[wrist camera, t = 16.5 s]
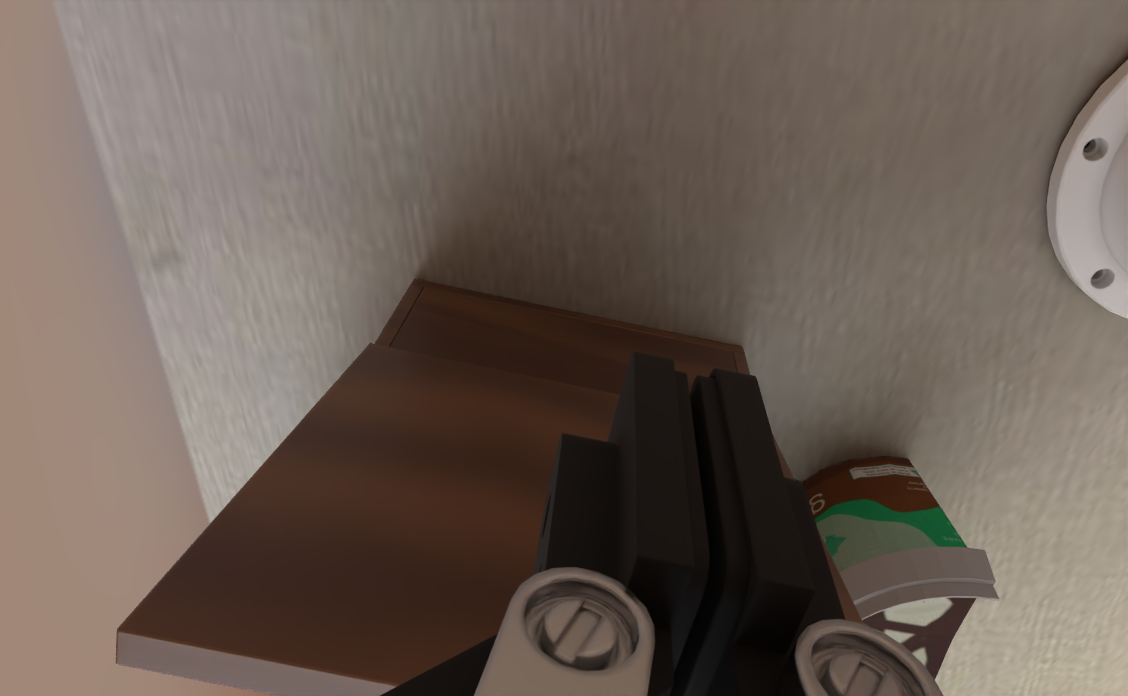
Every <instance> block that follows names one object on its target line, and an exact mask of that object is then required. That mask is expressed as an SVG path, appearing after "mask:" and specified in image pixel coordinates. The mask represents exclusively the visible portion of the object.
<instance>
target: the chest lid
mask: <svg viewBox="0 0 1128 696" xmlns="http://www.w3.org/2000/svg"><path fill="white" fill-rule="evenodd" d="M619 397H620V395H619V394H614V393H609V392H604V391H599V390H594V389H590V388H585V387H580V386H575V385H570V384H565V383H561V382H556V381H551V380H546V379H541V378H536V377H532V376H527V375H522V374H517V373H512V372H507V371H503V370H498V369H493V368H488V367H483V366H478V365H474V364H469V363H464V362H459V361H454V360H449V359H445V358H440V357H435V356H430V355H425V354H420V353H415V352H411V351H406V350H401V349H396V348H391V347H386V346H382V345H377V344H372V343H370V344H369V345H368V346H367V347H366V348H365V349H364V351H363V352H362V353H361V354H360V355H359V356H358V357H357V359H356V360H355V361H354V362H353V363H352V364H351V365H350V366H349V368H348V369H347V370H346V371H345V372H344V373H343V374H342V375H341V377H340V378H339V379H338V380H337V381H336V382H335V383H334V384H333V386H332V387H331V388H330V389H329V390H328V391H327V392H326V394H325V395H324V396H323V397H322V398H321V399H320V400H319V401H318V403H317V404H316V405H315V406H314V407H313V408H312V409H311V410H310V412H309V413H308V414H307V415H306V416H305V417H304V418H303V420H302V421H301V422H300V423H299V424H298V425H297V426H296V427H295V429H294V430H293V431H292V432H291V433H290V434H289V435H288V436H287V438H286V439H285V440H284V441H283V442H282V443H281V444H280V446H279V447H278V448H277V449H276V450H275V451H274V452H273V453H272V455H271V456H270V457H269V458H268V459H267V460H266V461H265V462H264V464H263V465H262V466H261V467H260V468H259V469H258V470H257V471H256V473H255V474H254V475H253V476H252V477H251V478H250V479H249V481H248V482H247V483H246V484H245V485H244V486H243V487H242V488H241V490H240V491H239V492H238V493H237V494H236V495H235V496H234V497H233V499H232V500H231V501H230V502H229V503H228V504H227V505H226V507H225V508H224V509H223V510H222V511H221V512H220V513H219V514H218V516H217V517H216V518H215V519H214V520H213V521H212V522H211V523H210V525H209V526H208V527H207V528H206V529H205V530H204V531H203V533H202V534H201V535H200V536H199V537H198V538H197V539H196V541H195V542H194V543H193V544H192V545H191V546H190V548H188V550H187V551H186V552H185V553H184V554H183V555H182V556H181V557H180V558H179V560H178V561H177V562H176V563H175V564H174V565H173V566H172V568H171V569H170V570H169V571H168V572H167V573H166V574H165V575H164V577H163V578H162V579H161V580H160V581H159V582H158V583H157V585H156V586H155V587H154V588H153V589H152V590H151V591H150V592H149V594H148V595H147V596H146V597H145V598H144V599H143V600H142V601H141V603H140V604H139V605H138V606H137V607H136V608H135V609H134V611H133V612H132V613H131V614H130V615H129V616H128V617H127V618H126V620H125V621H124V622H123V623H122V624H121V625H120V626H119V628H118V629H117V642H116V643H117V644H116V664H118V665H123V666H128V667H133V668H138V669H143V670H148V671H154V672H159V673H163V674H169V675H174V676H179V677H184V678H189V679H194V680H199V681H204V682H209V683H215V684H219V685H224V686H230V687H235V688H240V689H245V690H250V691H255V692H261V693H265V694H270V695H275V696H380V695H382V694H384V693H386V692H388V691H389V690H391V689H393V688H395V687H397V686H399V685H401V684H403V683H405V682H407V681H408V680H410V679H412V678H414V677H416V676H418V675H420V674H422V673H424V672H426V671H428V670H429V669H431V668H433V667H435V666H437V665H439V664H441V663H443V662H445V661H447V660H448V659H450V658H452V657H454V656H456V655H458V654H460V653H462V652H464V651H466V650H468V649H469V648H471V647H473V646H475V645H477V644H479V643H481V642H483V641H485V640H487V639H488V638H490V637H492V636H494V635H496V634H498V632H499V630H500V627H501V624H502V622H503V619H504V617H505V614H506V611H507V609H508V606H509V604H510V601H511V599H512V597H513V596H514V594H515V593H516V591H517V589H518V588H519V586H520V585H521V584H522V583H523V582H525V581H526V580H528V579H529V578H530V577H532V576H533V575H534V569H535V562H536V555H537V548H538V541H539V534H540V528H541V523H542V517H543V512H544V507H545V502H546V497H547V492H548V487H549V483H550V478H551V474H552V469H553V465H554V461H555V456H556V452H557V448H558V444H559V440H560V437H561V434H562V433H566V434H571V435H576V436H581V437H586V438H591V439H596V440H601V441H606V442H608V438H609V434H610V431H611V427H612V423H613V419H614V415H615V412H616V408H617V404H618V400H619ZM772 435H773V434H772ZM773 439H774V437H773ZM774 443H775V446H776V450H777V453H778V457H779V461H780V464H781V468H782V471H783V475H784V477H786V478H791V479H794V478H793V476H792V474H791V472H790V470H789V468H788V466H787V463H786V461H785V459H784V457H783V455H782V453H781V451H780V449H779V447H778V445H777V443H776V441H775V439H774ZM818 532H819V530H818ZM819 535H820V538H821V541H822V545H823V548H824V551H825V554H826V558H827V561H828V564H829V567H830V571H831V574H832V577H833V580H834V583H835V587H836V590H837V593H838V596H839V600H840V603H841V606H842V609H843V613H844V616H845V619H846V620H848V621H853V622H858V623H862V624H864V623H863V621H862V619H861V617H860V615H859V613H858V610H857V608H856V606H855V604H854V602H853V600H852V598H851V596H850V594H849V592H848V590H847V588H846V586H845V584H844V581H843V579H842V577H841V575H840V573H839V571H838V569H837V567H836V565H835V563H834V561H833V559H832V557H831V555H830V552H829V550H828V548H827V546H826V544H825V542H824V540H823V538H822V536H821V534H820V532H819Z"/></svg>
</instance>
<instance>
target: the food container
mask: <svg viewBox="0 0 1128 696" xmlns="http://www.w3.org/2000/svg"><path fill="white" fill-rule="evenodd" d="M802 484H803V486H804V488H805V490H806V493H807V496H808V499H809V502H810V506H811V509H812V512H813V515H814V519H815V522H816V525H817V528H818V530H819V532H820V534H821V536H822V538H823V540H824V542H825V544H826V546H827V548H828V550H829V552H830V555H831V557H832V559H833V561H834V563H835V565H836V567H837V569H838V571H839V573H840V575H841V577H842V579H843V581H844V584H845V586H846V588H847V590H848V592H849V594H850V596H851V598H852V600H853V602H854V604H855V606H856V608H857V610H858V613H859V615H860V617H861V619H862V621H863V623H864V624H865V625H867V626H869V627H872V628H874V629H877V630H879V631H881V632H883V633H885V634H887V635H888V636H890V637H891V638H893V639H894V640H896V641H897V642H899V643H900V644H902V645H903V646H905V647H906V648H907V649H908V650H909V651H910V652H911V653H912V654H913V655H914V656H915V657H916V658H917V659H919V660H920V661H921V662H922V664H923V665H924V666H925V668H926V669H927V670H928V672H929V673H930V675H931V676H932V677H933V679H934V680H935V678H936V676H937V674H938V671H939V669H940V667H941V664H942V662H943V659H944V657H945V655H946V652H947V650H948V648H949V646H950V644H951V642H952V639H953V637H954V635H955V634H956V632H957V630H958V629H959V627H960V625H961V623H962V622H963V620H964V618H965V616H966V615H967V613H968V611H969V610H970V608H971V606H972V604H973V603H974V601H975V599H976V598H982V599H989V600H997V601H999V597H998V595H997V593H996V591H995V589H994V587H993V585H994V583H995V578H994V575H993V573H992V570H991V567H990V564H989V561H988V558H987V555H986V552H985V550H980V549H972V548H967V546H966V545H965V543H964V542H963V540H962V539H961V537H960V536H959V534H958V533H957V531H956V530H955V528H954V527H953V525H952V524H951V522H950V521H949V519H948V518H947V516H946V515H945V513H944V512H943V510H942V509H941V507H940V506H939V504H938V503H937V501H936V500H935V498H934V497H933V495H932V494H931V492H930V491H929V489H928V488H927V486H926V485H925V483H924V482H923V480H922V479H921V477H920V476H919V474H918V473H917V471H916V469H915V468H914V466H913V465H912V463H911V462H910V460H909V459H903V458H895V457H887V456H881V457H872V458H862V459H852V460H849V461H846V462H843V463H840V464H837V465H835V466H832V467H829V468H826V469H823V470H821V471H819V472H818V473H816V474H815V475H813V476H812V477H811V478H809V479H808V480H806V481H805V482H803V483H802Z"/></svg>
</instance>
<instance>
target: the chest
mask: <svg viewBox="0 0 1128 696" xmlns="http://www.w3.org/2000/svg"><path fill="white" fill-rule="evenodd" d="M375 344H377V345H382V346H386V347H391V348H396V349H401V350H406V351H411V352H415V353H420V354H425V355H430V356H435V357H440V358H445V359H449V360H454V361H459V362H464V363H469V364H474V365H478V366H483V367H488V368H493V369H498V370H503V371H507V372H512V373H517V374H522V375H527V376H532V377H536V378H541V379H546V380H551V381H556V382H561V383H565V384H570V385H575V386H580V387H585V388H590V389H594V390H599V391H604V392H609V393H614V394H619V395H620V393H621V389H622V385H623V382H624V378H625V374H626V370H627V367H628V363H629V360H630V357H631V354H632V352H633V351H635V352H639V353H644V354H649V355H654V356H659V357H664V358H669V359H673V361H674V368H675V370H676V371H680V372H685V373H687V378H688V386H689V394H690V391H691V388H692V385H693V382H694V379H695V378H696V376H697V375H700V376H705V377H709V375H710V373H711V371H712V370H713V369H714V368H718V369H723V370H728V371H733V372H738V373H742V374H747V375H750V373H749V369H748V365H747V361H746V357H745V353H744V349H743V348H742V347H738V346H733V345H728V344H724V343H719V342H714V341H709V340H704V339H700V338H695V337H690V336H685V335H680V334H676V333H671V332H666V331H661V330H657V329H652V328H647V327H642V326H637V325H633V324H628V323H623V322H618V321H613V320H609V319H604V318H599V317H594V316H589V315H585V314H580V313H575V312H570V311H565V310H561V309H556V308H551V307H546V306H542V305H537V304H532V303H527V302H522V301H518V300H513V299H508V298H503V297H498V296H494V295H489V294H484V293H479V292H474V291H470V290H465V289H460V288H455V287H450V286H446V285H441V284H436V283H431V282H426V281H422V280H417V279H414V280H413V282H412V284H411V285H410V287H409V288H408V290H407V292H406V293H405V295H404V296H403V298H402V300H401V301H400V303H399V305H398V306H397V308H396V310H395V311H394V313H393V314H392V316H391V318H390V319H389V321H388V323H387V324H386V326H385V328H384V329H383V331H382V332H381V334H380V336H379V337H378V339H377V341H376V342H375Z"/></svg>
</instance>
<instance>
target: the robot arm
mask: <svg viewBox="0 0 1128 696" xmlns="http://www.w3.org/2000/svg"><path fill="white" fill-rule="evenodd" d="M1090 140H1091V141H1090ZM1089 141H1090V145H1089V146H1088V147H1087V148H1085V149H1084V147H1085V145H1086V144H1087V143H1088V142H1089ZM1046 209H1047V221H1048V233H1049V236H1050V240H1051V243H1052V246H1053V249H1054V252H1055V255H1056V258H1057V259H1058V261H1059V262H1060V264H1061V266H1062V267H1063V269H1064V270H1065V272H1066V273H1067V275H1068V276H1069V278H1070V279H1071V280H1072V281H1073V282H1074V283H1075V284H1076V285H1077V286H1078V287H1079V288H1080V289H1081V290H1082V291H1083V292H1085V293H1086V294H1087V295H1088V296H1089V297H1090V298H1092V299H1093V300H1095V301H1096V302H1097V303H1099V304H1100V305H1101V306H1103V307H1104V308H1105V309H1107V310H1108V311H1110V312H1113V313H1115V314H1117V315H1120V316H1122V317H1124V318H1126V319H1128V60H1127V61H1126V62H1125V63H1124V64H1123V65H1121V66H1120V67H1119V68H1118V69H1117V70H1116V71H1115V72H1114V73H1113V74H1112V75H1111V76H1110V77H1109V78H1108V79H1107V80H1106V81H1105V82H1104V83H1103V84H1102V85H1101V86H1100V87H1099V88H1098V90H1097V91H1096V92H1095V93H1094V95H1093V96H1092V97H1091V99H1090V100H1089V101H1088V103H1087V104H1086V105H1085V107H1084V108H1083V109H1082V110H1081V112H1080V113H1079V114H1078V116H1077V117H1076V119H1075V121H1074V123H1073V125H1072V126H1071V128H1070V130H1069V132H1068V134H1067V136H1066V138H1065V139H1064V141H1063V143H1062V145H1061V147H1060V150H1059V153H1058V156H1057V159H1056V162H1055V164H1054V167H1053V170H1052V173H1051V176H1050V182H1049V190H1048V197H1047V205H1046ZM380 696H943V694H942V692H941V691H940V689H939V687H938V685H937V683H936V682H935V680H934V679H933V677H932V676H931V675H930V673H929V672H928V670H927V669H926V668H925V666H924V665H923V664H922V662H921V661H920V660H919V659H917V658H916V657H915V656H914V655H913V654H912V653H911V652H910V651H909V650H908V649H907V648H906V647H905V646H903V645H902V644H900V643H899V642H897V641H896V640H894V639H893V638H891V637H890V636H888V635H887V634H885V633H883V632H881V631H879V630H877V629H874V628H872V627H869V626H867V625H865V624H862V623H858V622H853V621H848V620H846V619H845V616H844V613H843V609H842V606H841V603H840V600H839V596H838V593H837V590H836V587H835V583H834V580H833V577H832V574H831V571H830V567H829V564H828V561H827V558H826V554H825V551H824V548H823V545H822V541H821V538H820V535H819V532H818V528H817V525H816V522H815V519H814V515H813V512H812V509H811V506H810V502H809V499H808V496H807V493H806V490H805V488H804V486H803V484H802V482H800V481H798V480H796V479H791V478H786V477H784V475H783V471H782V468H781V464H780V461H779V457H778V453H777V450H776V446H775V443H774V439H773V435H772V432H771V428H770V425H769V421H768V417H767V414H766V410H765V407H764V403H763V399H762V396H761V392H760V388H759V385H758V381H757V379H756V377H755V376H752V375H747V374H742V373H738V372H733V371H728V370H723V369H718V368H714V369H713V370H712V371H711V373H710V375H709V377H705V376H700V375H697V376H696V378H695V379H694V382H693V385H692V388H691V391H690V394H689V386H688V378H687V373H685V372H680V371H676V370H675V368H674V361H673V359H669V358H664V357H659V356H654V355H649V354H644V353H639V352H635V351H633V352H632V354H631V357H630V360H629V363H628V367H627V370H626V374H625V378H624V382H623V385H622V389H621V393H620V397H619V400H618V404H617V408H616V412H615V415H614V419H613V423H612V427H611V431H610V434H609V438H608V442H606V441H601V440H596V439H591V438H586V437H581V436H576V435H571V434H566V433H562V434H561V437H560V440H559V444H558V448H557V452H556V456H555V461H554V465H553V469H552V474H551V478H550V483H549V487H548V492H547V497H546V502H545V507H544V512H543V517H542V523H541V528H540V534H539V541H538V548H537V555H536V562H535V569H534V575H533V576H532V577H530V578H529V579H528V580H526V581H525V582H523V583H522V584H521V585H520V586H519V588H518V589H517V591H516V593H515V594H514V596H513V597H512V599H511V601H510V604H509V606H508V609H507V611H506V614H505V617H504V619H503V622H502V624H501V627H500V630H499V632H498V634H496V635H494V636H492V637H490V638H488V639H487V640H485V641H483V642H481V643H479V644H477V645H475V646H473V647H471V648H469V649H468V650H466V651H464V652H462V653H460V654H458V655H456V656H454V657H452V658H450V659H448V660H447V661H445V662H443V663H441V664H439V665H437V666H435V667H433V668H431V669H429V670H428V671H426V672H424V673H422V674H420V675H418V676H416V677H414V678H412V679H410V680H408V681H407V682H405V683H403V684H401V685H399V686H397V687H395V688H393V689H391V690H389V691H388V692H386V693H384V694H382V695H380Z"/></svg>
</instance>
